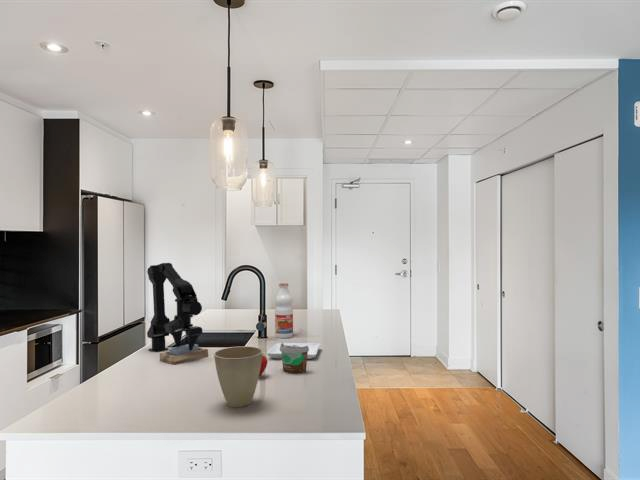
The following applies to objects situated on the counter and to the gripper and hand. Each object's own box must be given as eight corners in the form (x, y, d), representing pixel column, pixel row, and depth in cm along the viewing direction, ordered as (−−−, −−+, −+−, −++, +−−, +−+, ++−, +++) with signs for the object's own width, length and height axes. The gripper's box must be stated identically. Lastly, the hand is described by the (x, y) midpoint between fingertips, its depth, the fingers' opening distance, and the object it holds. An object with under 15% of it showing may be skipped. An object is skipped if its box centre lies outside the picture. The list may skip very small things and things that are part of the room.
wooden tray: (159, 361, 194) (159, 353, 194) (193, 353, 208) (193, 346, 208) (174, 364, 188) (174, 357, 188) (208, 356, 201) (207, 349, 201)
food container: (273, 372, 176) (273, 345, 176) (282, 368, 181) (281, 342, 181) (301, 376, 170) (301, 349, 170) (309, 371, 175) (309, 345, 175)
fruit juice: (288, 334, 247) (288, 282, 247) (296, 337, 239) (295, 283, 239) (272, 336, 243) (271, 283, 243) (279, 339, 234) (278, 284, 235)
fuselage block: (191, 352, 204) (191, 343, 204) (198, 353, 202) (198, 344, 202) (169, 358, 194) (169, 348, 194) (176, 359, 191) (176, 350, 191)
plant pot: (211, 398, 146) (210, 348, 146) (257, 392, 152) (256, 344, 152) (218, 415, 132) (217, 360, 132) (268, 408, 138) (267, 354, 138)
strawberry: (269, 374, 173) (269, 347, 173) (264, 380, 165) (264, 352, 165) (254, 373, 173) (254, 347, 173) (248, 379, 166) (248, 352, 166)
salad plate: (321, 349, 212) (321, 342, 212) (316, 362, 191) (316, 353, 191) (276, 349, 214) (276, 342, 214) (266, 361, 193) (266, 353, 193)
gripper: (154, 313, 197) (155, 349, 197) (180, 317, 186) (180, 355, 186) (177, 310, 206) (177, 344, 206) (203, 313, 194) (203, 350, 194)
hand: (184, 348), depth 198 cm, fingers open, 9 cm apart
